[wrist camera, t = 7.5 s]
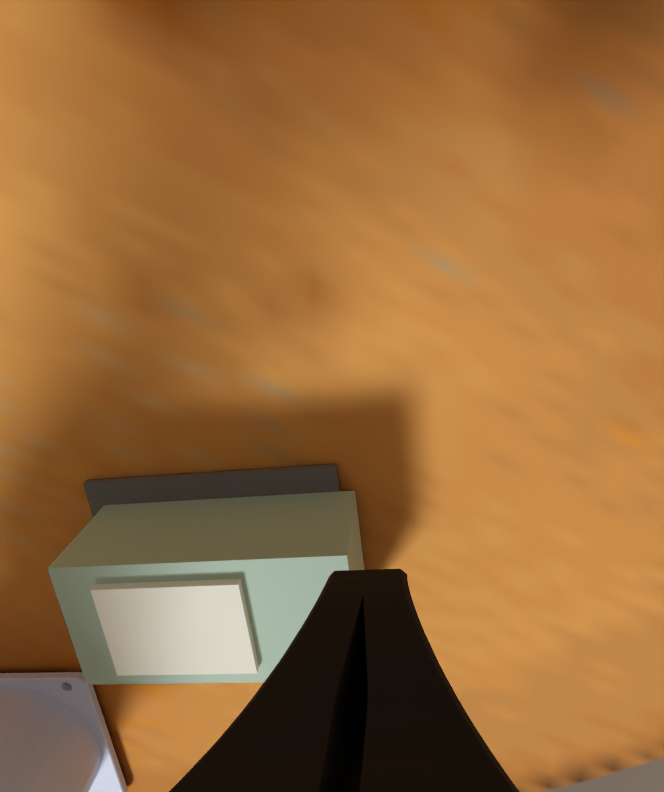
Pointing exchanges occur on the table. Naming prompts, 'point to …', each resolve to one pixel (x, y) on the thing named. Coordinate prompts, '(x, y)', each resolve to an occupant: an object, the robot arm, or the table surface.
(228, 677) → the sage block
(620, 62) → the table surface
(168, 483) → the mat
